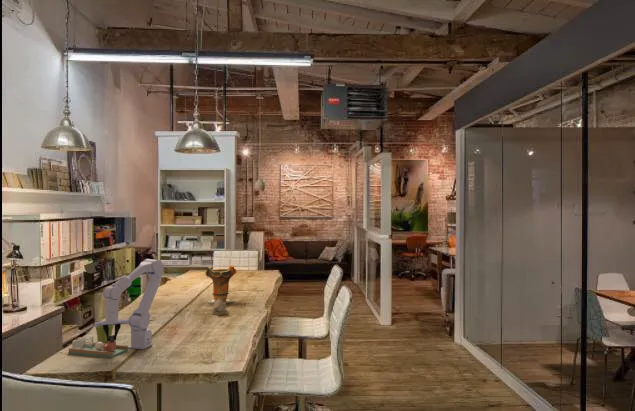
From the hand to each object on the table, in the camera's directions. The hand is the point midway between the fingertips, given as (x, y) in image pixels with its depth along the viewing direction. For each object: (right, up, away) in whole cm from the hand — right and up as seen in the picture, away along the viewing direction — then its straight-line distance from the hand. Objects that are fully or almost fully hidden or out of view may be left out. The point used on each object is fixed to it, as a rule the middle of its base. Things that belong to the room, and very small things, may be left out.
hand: (111, 340), depth 234 cm
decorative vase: (+25, -8, +136) cm, 138 cm away
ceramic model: (+32, -8, +95) cm, 101 cm away
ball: (-7, -3, +2) cm, 7 cm away
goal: (-15, -5, +4) cm, 17 cm away
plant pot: (-12, -7, +20) cm, 25 cm away
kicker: (-1, -5, 0) cm, 5 cm away
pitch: (-7, -6, +2) cm, 9 cm away
